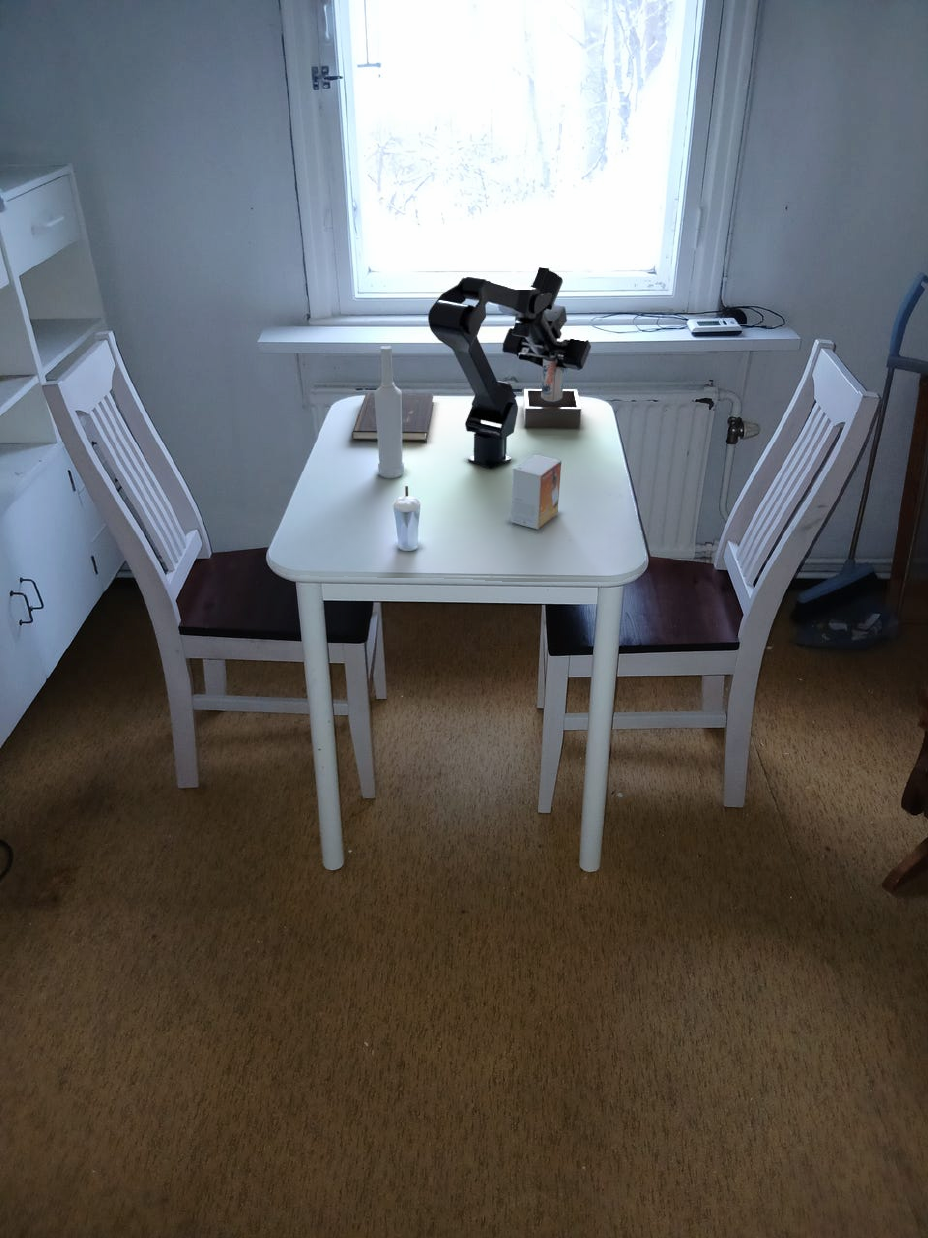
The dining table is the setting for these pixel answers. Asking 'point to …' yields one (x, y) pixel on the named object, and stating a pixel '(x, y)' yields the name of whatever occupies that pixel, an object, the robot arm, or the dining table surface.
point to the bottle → (389, 420)
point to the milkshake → (407, 521)
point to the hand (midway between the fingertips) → (556, 367)
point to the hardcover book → (413, 418)
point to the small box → (535, 491)
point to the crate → (551, 410)
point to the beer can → (551, 380)
